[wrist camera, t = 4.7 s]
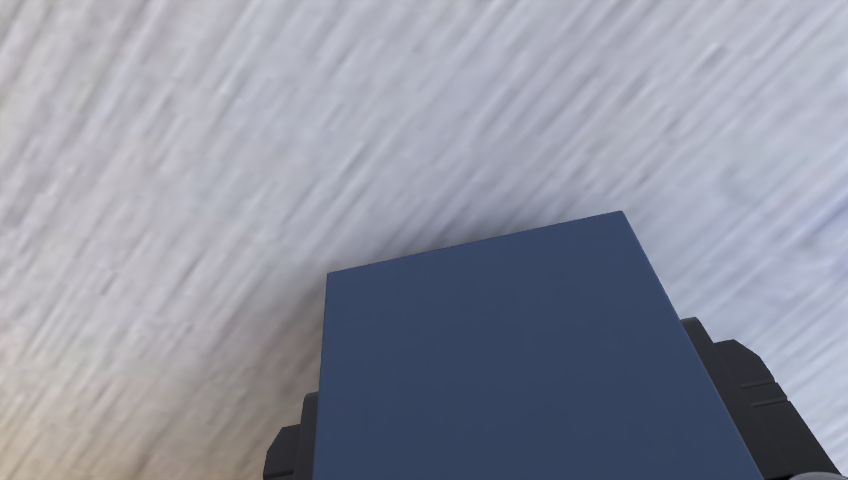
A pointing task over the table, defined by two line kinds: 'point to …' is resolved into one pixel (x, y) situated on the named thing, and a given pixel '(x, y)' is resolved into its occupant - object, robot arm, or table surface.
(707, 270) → the table surface
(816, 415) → the table surface
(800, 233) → the table surface
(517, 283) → the rectangular box
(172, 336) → the table surface
